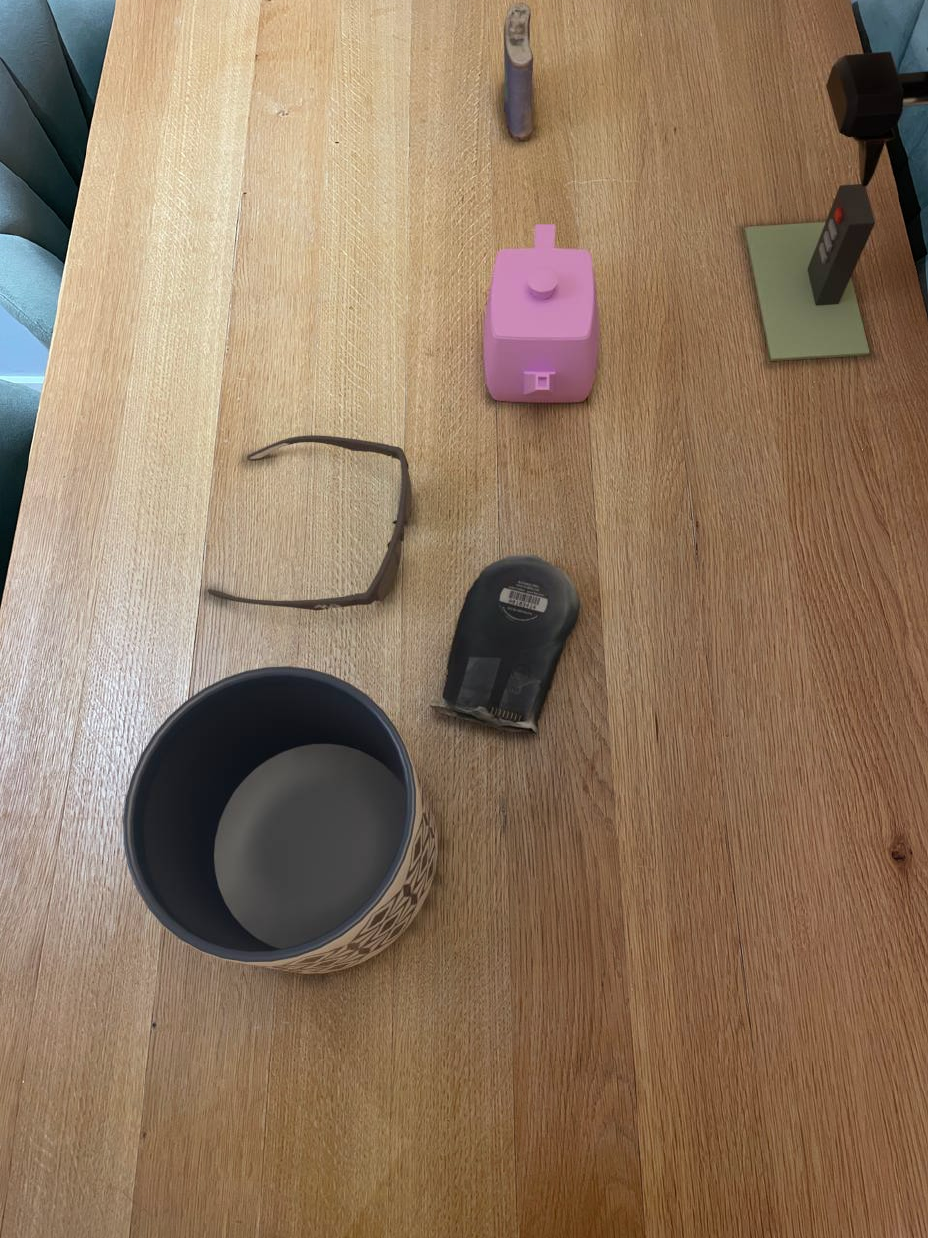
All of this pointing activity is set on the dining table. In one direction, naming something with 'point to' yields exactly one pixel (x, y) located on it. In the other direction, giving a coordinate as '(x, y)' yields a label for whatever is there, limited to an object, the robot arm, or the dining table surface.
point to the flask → (518, 72)
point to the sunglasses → (393, 555)
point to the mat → (800, 297)
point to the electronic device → (509, 643)
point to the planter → (281, 823)
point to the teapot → (541, 323)
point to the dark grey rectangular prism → (840, 244)
